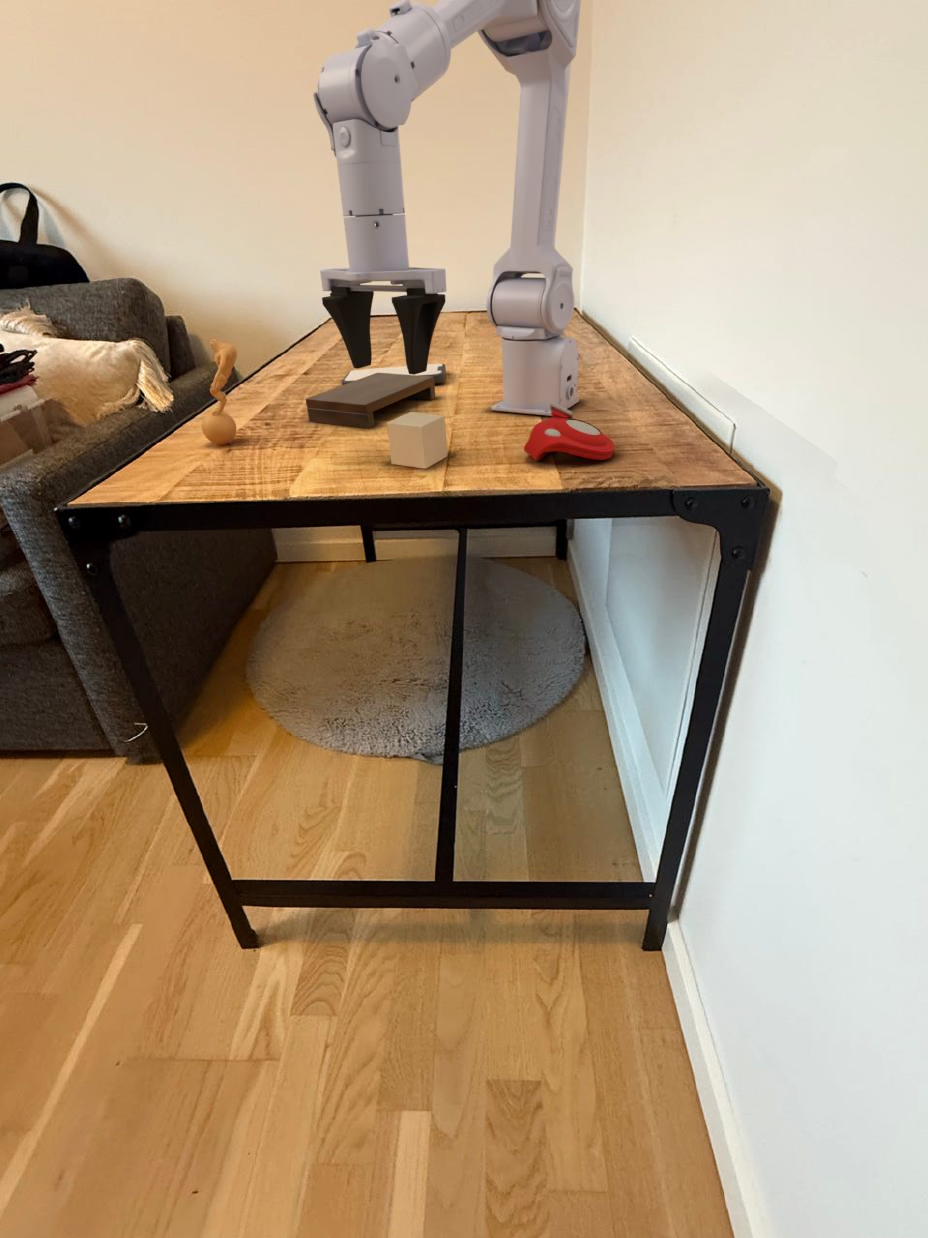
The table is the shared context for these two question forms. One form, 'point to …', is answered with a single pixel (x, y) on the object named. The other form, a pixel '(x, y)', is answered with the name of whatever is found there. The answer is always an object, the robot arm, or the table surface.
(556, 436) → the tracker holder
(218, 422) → the figurine
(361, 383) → the shelf
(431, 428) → the block
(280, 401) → the table surface
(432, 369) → the phone case
